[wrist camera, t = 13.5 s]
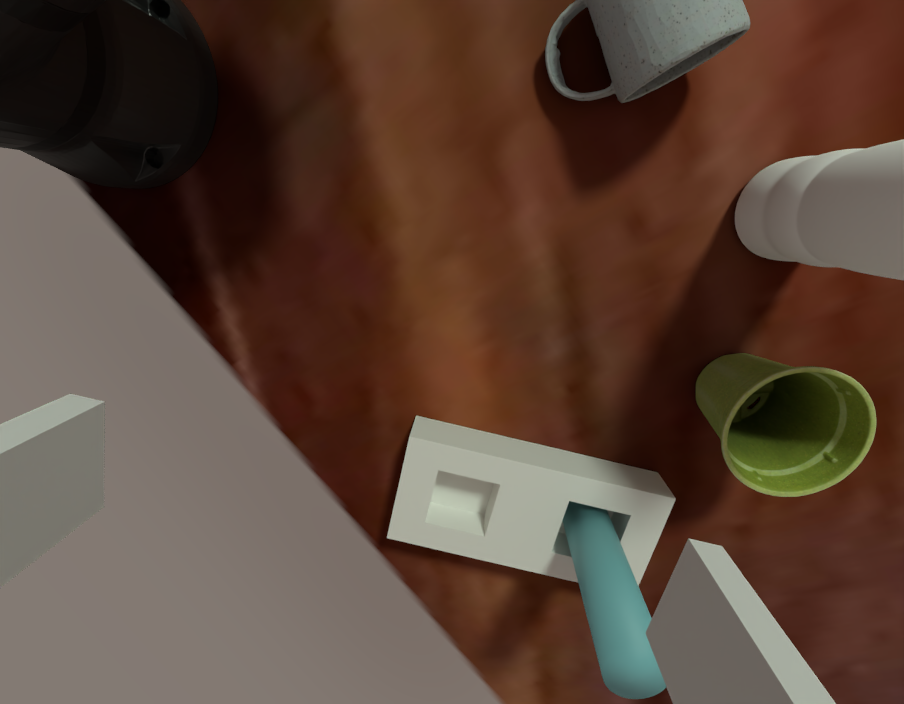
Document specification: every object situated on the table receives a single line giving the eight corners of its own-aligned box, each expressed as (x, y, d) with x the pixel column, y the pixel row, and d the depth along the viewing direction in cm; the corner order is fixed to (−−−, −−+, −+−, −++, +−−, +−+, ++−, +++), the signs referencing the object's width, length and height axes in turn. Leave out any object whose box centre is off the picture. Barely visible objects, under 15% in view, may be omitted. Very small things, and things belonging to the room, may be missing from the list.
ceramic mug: (671, -68, 30) (730, -157, 23) (714, 57, 32) (781, 13, 25) (522, 24, 32) (532, -30, 25) (570, 137, 34) (593, 118, 27)
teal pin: (568, 489, 41) (615, 641, 27) (612, 499, 41) (682, 656, 27) (555, 526, 42) (593, 690, 28) (598, 536, 42) (658, 705, 28)
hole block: (416, 415, 41) (409, 436, 37) (657, 472, 41) (676, 498, 37) (394, 509, 44) (386, 537, 40) (620, 562, 44) (634, 595, 40)
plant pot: (733, 458, 40) (798, 521, 32) (648, 399, 39) (693, 449, 31) (816, 375, 38) (909, 420, 30) (728, 310, 37) (799, 338, 29)
